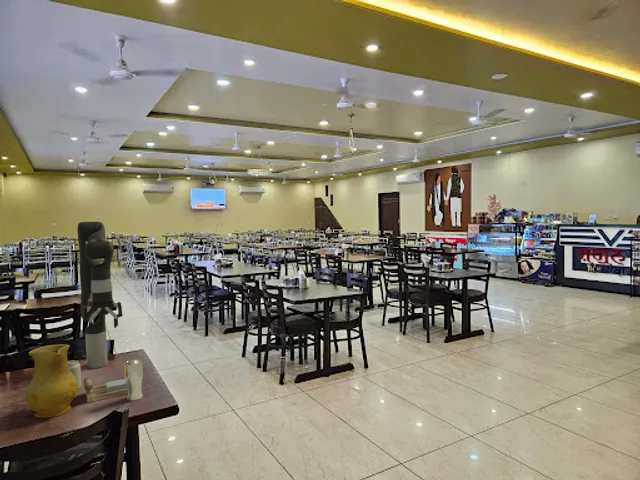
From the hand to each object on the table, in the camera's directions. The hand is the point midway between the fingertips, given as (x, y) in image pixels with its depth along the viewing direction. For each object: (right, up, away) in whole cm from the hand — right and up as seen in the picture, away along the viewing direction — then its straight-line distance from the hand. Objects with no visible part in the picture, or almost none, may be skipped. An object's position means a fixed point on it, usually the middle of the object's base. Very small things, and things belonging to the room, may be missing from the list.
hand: (103, 329), depth 174 cm
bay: (-2, -29, +7) cm, 30 cm away
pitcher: (-16, -30, -8) cm, 35 cm away
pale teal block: (+1, -29, +8) cm, 30 cm away
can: (-20, -29, +12) cm, 37 cm away
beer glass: (+12, -29, +2) cm, 31 cm away
